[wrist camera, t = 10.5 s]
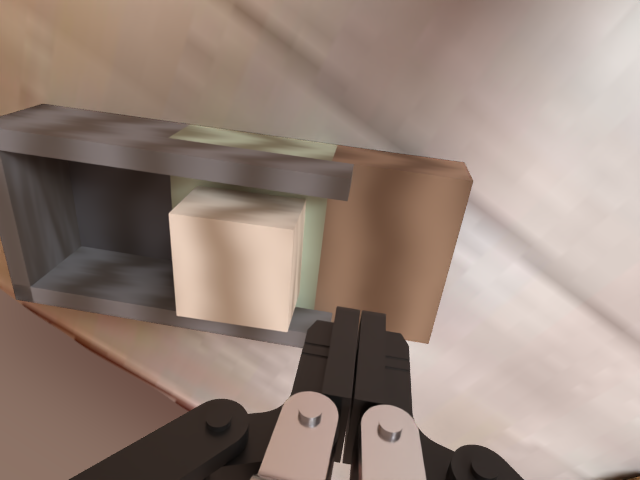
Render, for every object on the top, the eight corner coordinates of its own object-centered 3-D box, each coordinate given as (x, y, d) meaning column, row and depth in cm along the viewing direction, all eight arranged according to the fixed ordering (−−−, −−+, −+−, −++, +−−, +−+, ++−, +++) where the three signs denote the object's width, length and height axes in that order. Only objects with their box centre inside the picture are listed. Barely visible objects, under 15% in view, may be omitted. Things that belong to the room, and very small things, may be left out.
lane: (464, 162, 34) (481, 198, 28) (424, 314, 41) (431, 369, 35) (42, 103, 36) (-28, 124, 30) (69, 256, 43) (16, 299, 37)
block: (306, 199, 33) (293, 229, 28) (299, 292, 37) (287, 332, 32) (197, 185, 33) (168, 213, 29) (201, 278, 37) (176, 315, 33)
